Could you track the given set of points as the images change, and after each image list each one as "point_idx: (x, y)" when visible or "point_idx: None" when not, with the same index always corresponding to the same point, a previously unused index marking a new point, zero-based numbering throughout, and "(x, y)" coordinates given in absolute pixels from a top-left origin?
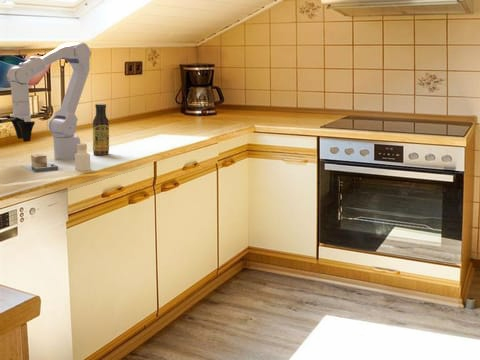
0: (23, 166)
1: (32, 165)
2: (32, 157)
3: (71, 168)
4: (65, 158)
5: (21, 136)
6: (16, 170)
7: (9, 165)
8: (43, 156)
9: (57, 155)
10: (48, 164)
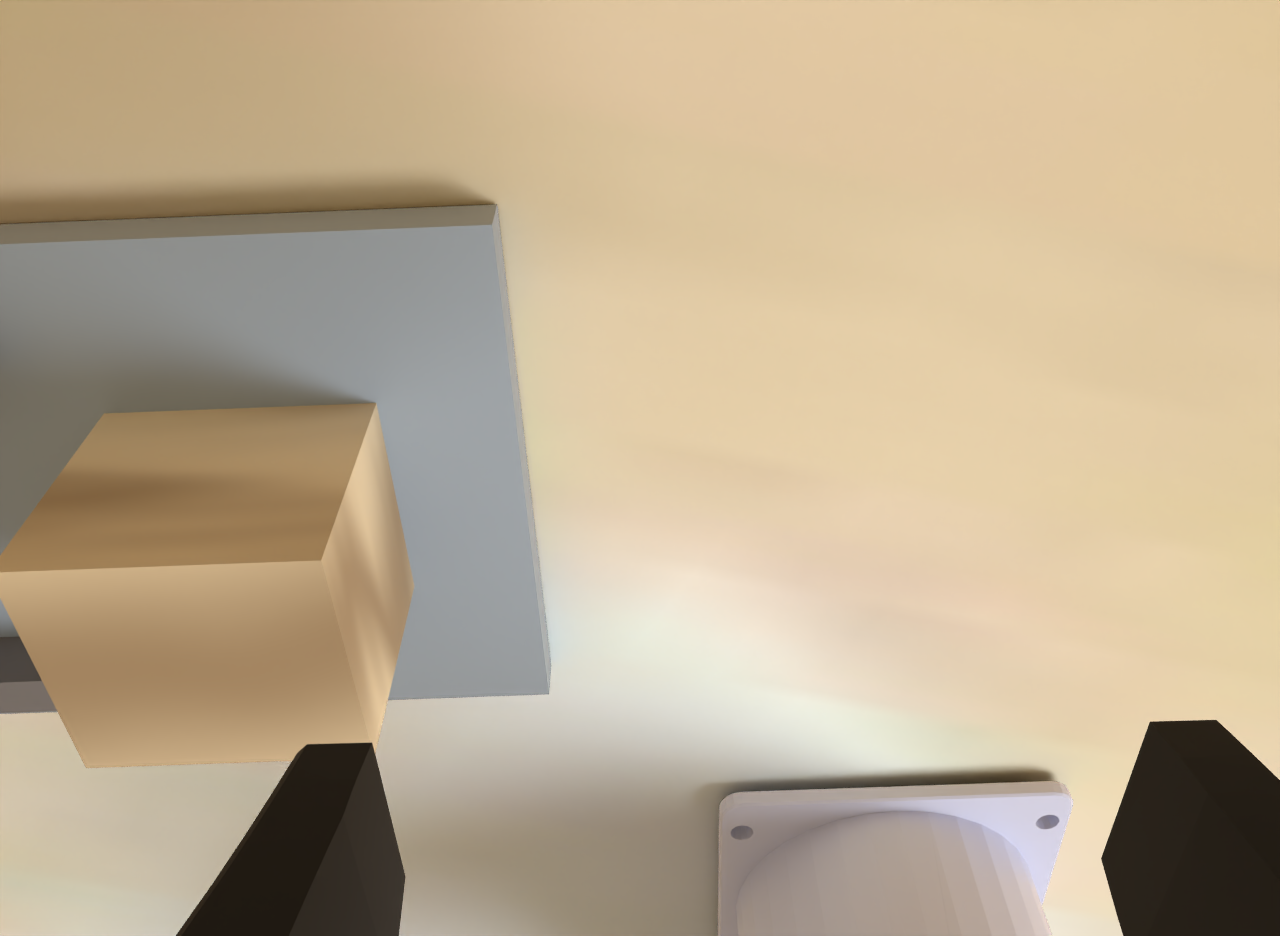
0: (385, 249)
1: (311, 416)
2: (212, 531)
3: (140, 817)
4: (742, 907)
5: (1151, 869)
6: (260, 41)
7: (988, 32)
8: (72, 713)
9: (831, 887)
10: (406, 655)
